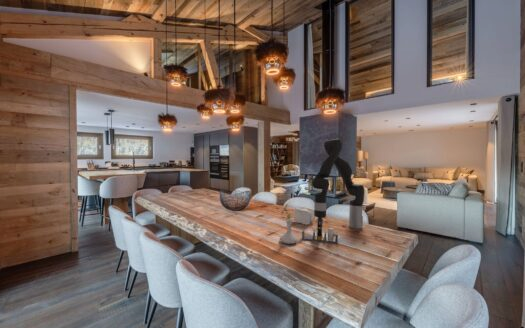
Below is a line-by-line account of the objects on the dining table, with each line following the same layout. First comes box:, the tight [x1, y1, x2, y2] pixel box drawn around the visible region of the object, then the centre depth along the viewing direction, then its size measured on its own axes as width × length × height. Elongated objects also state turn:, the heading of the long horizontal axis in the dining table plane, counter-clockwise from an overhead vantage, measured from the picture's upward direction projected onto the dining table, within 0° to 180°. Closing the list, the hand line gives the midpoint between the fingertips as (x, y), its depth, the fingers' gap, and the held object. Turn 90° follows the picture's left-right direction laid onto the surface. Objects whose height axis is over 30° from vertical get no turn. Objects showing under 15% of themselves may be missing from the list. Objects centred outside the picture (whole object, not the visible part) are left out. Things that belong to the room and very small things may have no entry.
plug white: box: [327, 227, 335, 241], centre depth 146 cm, size 4×4×7 cm
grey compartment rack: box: [301, 228, 339, 245], centre depth 148 cm, size 22×6×6 cm, turn 75°
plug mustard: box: [316, 226, 323, 239], centre depth 148 cm, size 4×4×7 cm
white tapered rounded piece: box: [279, 203, 299, 245], centre depth 143 cm, size 13×11×25 cm
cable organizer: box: [293, 206, 316, 226], centre depth 186 cm, size 15×11×12 cm
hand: (319, 234), depth 148 cm, fingers open, 5 cm apart
